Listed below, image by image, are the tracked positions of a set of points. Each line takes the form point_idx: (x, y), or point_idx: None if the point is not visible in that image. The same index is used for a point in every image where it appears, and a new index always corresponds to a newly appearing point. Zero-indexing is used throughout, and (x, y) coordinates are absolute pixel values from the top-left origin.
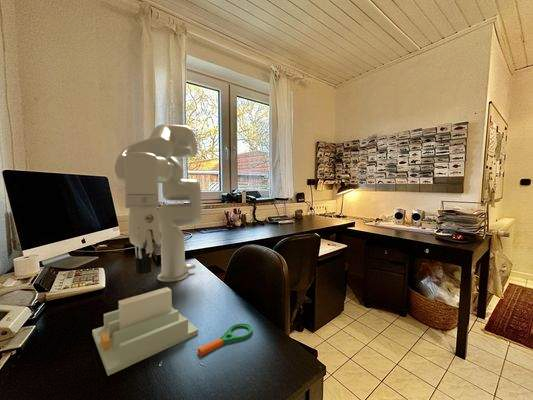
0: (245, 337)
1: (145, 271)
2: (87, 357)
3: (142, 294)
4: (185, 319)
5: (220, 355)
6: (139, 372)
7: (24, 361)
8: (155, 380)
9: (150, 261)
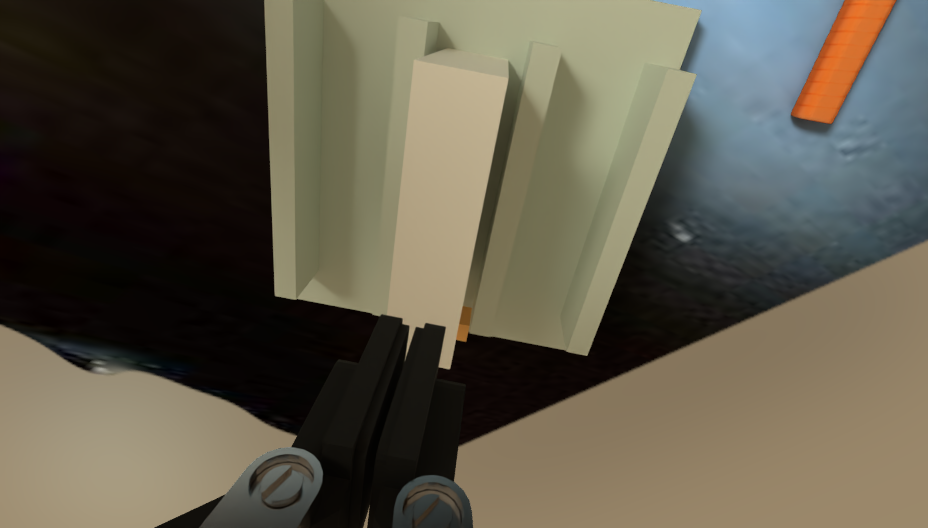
0: None
1: (436, 377)
2: None
3: (401, 248)
4: (682, 84)
5: (912, 59)
6: (647, 289)
7: None
8: (727, 281)
9: (426, 412)
